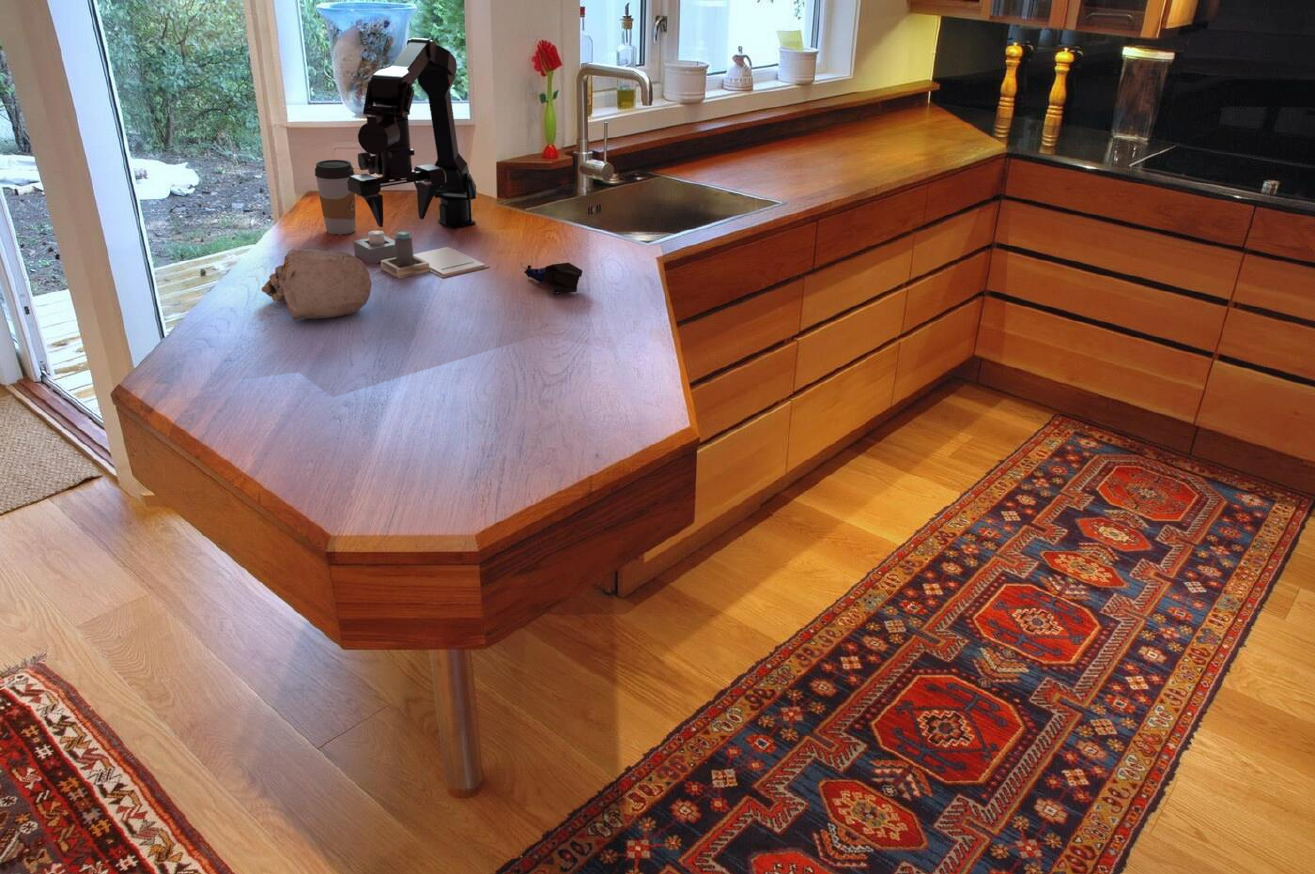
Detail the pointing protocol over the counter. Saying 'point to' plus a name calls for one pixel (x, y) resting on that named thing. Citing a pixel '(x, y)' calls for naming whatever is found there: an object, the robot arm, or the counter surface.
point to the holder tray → (417, 268)
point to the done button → (376, 238)
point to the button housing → (375, 250)
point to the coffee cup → (336, 195)
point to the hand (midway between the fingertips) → (401, 222)
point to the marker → (404, 249)
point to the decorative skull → (320, 284)
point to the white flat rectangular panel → (449, 262)
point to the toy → (557, 276)
